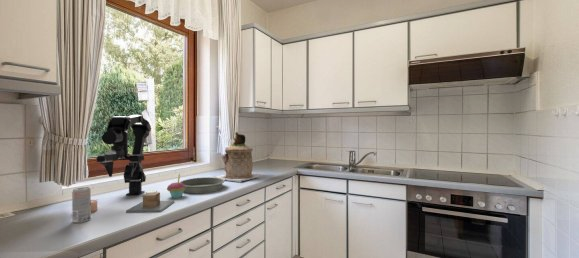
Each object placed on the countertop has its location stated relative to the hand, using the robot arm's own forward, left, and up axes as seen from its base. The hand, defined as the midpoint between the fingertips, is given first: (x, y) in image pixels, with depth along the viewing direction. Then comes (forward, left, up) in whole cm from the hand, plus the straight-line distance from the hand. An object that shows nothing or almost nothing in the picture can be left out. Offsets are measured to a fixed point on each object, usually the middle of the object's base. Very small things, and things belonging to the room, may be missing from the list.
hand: (120, 176), depth 121 cm
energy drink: (+24, 0, -12) cm, 27 cm away
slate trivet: (+8, +18, -12) cm, 23 cm away
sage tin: (-5, +12, -12) cm, 18 cm away
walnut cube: (+8, +18, -11) cm, 23 cm away
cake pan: (-26, +30, -12) cm, 42 cm away
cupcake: (-9, +22, -12) cm, 27 cm away
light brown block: (+13, -6, -12) cm, 19 cm away
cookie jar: (-56, +46, -12) cm, 74 cm away
